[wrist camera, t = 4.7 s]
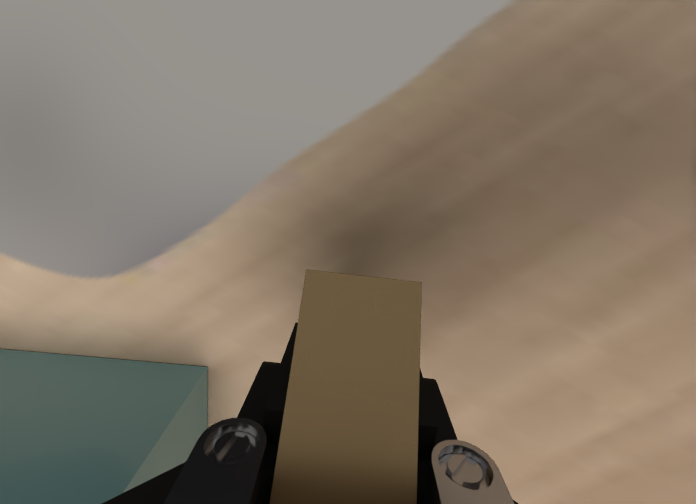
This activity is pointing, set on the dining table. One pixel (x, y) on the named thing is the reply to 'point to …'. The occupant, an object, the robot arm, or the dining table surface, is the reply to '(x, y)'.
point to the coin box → (93, 424)
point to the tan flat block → (352, 394)
